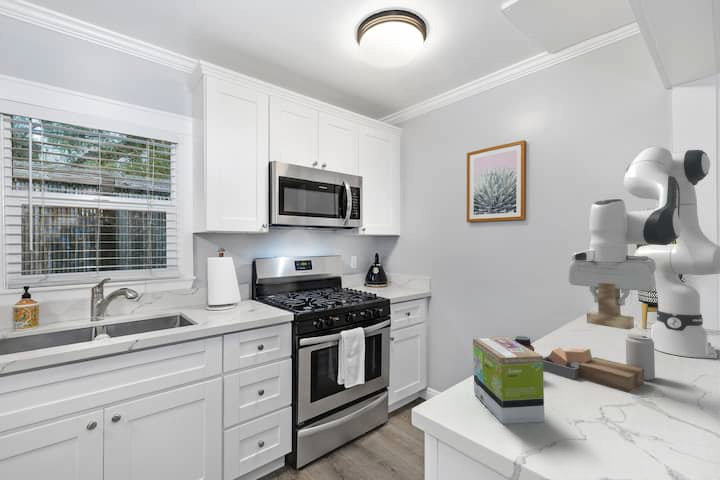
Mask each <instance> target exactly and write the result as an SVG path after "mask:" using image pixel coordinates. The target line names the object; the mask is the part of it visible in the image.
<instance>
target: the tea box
mask: <svg viewBox="0 0 720 480" xmlns="http://www.w3.org/2000/svg"><path fill="white" fill-rule="evenodd" d="M472 350H473V351H472V354H473V391H474V392H473V393H474V395H475V396H476V397H478V399H479V400H480V401H481V402H482V403H483V405H485V407H486V408H487V409H488V410H489V411H490V412H491V413H492V414H493V415H494V417H495V418H496V419H497V420H498V421H499V422H500V423H501V424H502V425H509V424H511V423H514V424H529V423H541V422H542V423H543V422H545V401H544V400H545V392H544V387H545V386H544V385H545V384H544V382H545V381H544V380H545V379H544V371H543V357H544V356H543V355H542V354H539V353H538V352H536V351H535V350H534V351H532V350H530V349H528V348H527V347H525V346H523V345H521V344H519V343H517V342H516V341H515V340H514V339H512V338H510V337H509V336H508V337H491V338H473V340H472Z"/></svg>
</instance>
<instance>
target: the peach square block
mask: <svg viewBox="0 0 720 480" xmlns="http://www.w3.org/2000/svg"><path fill="white" fill-rule="evenodd" d="M565 351H566V350H564V349H562V348H561V347H558V348H556V349H553V350H552V351H551V352H550V354H548V355H549V357H548V358H549V359H550V360H551V361H553V362H554V363H555V364H559V365H562V366H566V367H569V366H571V364H572V363H573V362H567V359H566V355H565Z"/></svg>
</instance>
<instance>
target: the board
mask: <svg viewBox="0 0 720 480" xmlns="http://www.w3.org/2000/svg"><path fill="white" fill-rule="evenodd" d="M578 366H579V378H578V379H580V380H582V381H583V380H584V381H587V382H592V383H595V384H597V385H600V386H605V387H607V388H611V389H615V390H619V391H622V392H625V393H628V394H630V393H632V392H633V391H634V390H636V389H638V388H639V387H640V386H642V385H643V384H644V383H645V380H644V369H643V368H639V367H634V366H630V365H626V364H625V363H621V362H617V361H613V360H608V359H603V358H600V357H595V356H594V357H593V358H592V360H590V361H588V362H586V363H580V364H578Z"/></svg>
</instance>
